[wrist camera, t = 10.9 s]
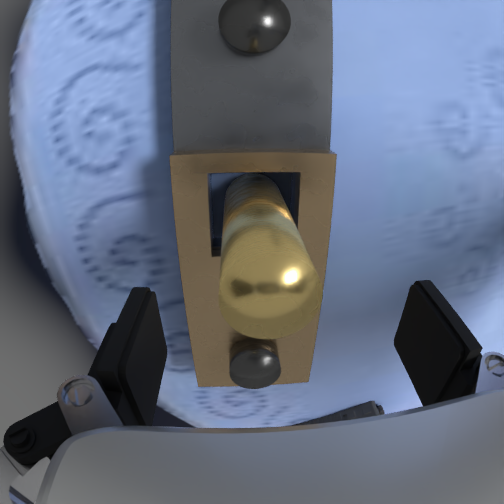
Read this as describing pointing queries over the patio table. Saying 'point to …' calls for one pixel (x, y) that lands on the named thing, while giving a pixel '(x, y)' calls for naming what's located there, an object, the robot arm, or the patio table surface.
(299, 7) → the peg insertion board
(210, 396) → the patio table surface
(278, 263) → the pin
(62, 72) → the patio table surface
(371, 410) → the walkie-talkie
